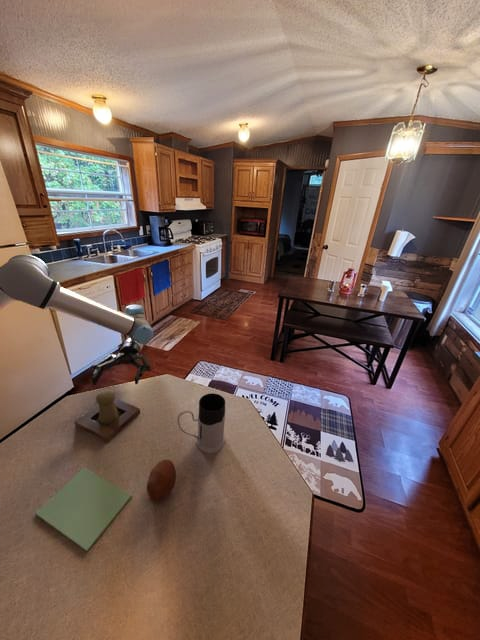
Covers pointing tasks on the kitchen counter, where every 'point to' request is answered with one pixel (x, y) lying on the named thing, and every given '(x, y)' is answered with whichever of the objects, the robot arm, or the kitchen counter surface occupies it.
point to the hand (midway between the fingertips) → (115, 381)
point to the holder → (108, 433)
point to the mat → (84, 508)
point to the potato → (161, 480)
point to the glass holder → (209, 423)
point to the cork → (107, 407)
